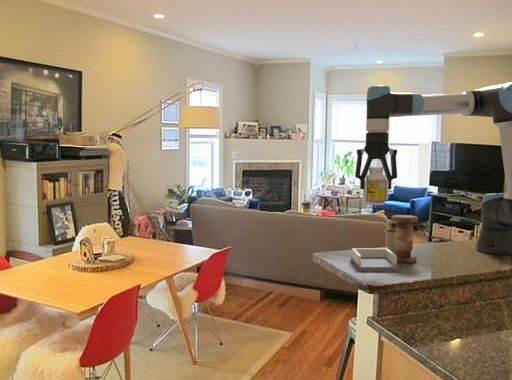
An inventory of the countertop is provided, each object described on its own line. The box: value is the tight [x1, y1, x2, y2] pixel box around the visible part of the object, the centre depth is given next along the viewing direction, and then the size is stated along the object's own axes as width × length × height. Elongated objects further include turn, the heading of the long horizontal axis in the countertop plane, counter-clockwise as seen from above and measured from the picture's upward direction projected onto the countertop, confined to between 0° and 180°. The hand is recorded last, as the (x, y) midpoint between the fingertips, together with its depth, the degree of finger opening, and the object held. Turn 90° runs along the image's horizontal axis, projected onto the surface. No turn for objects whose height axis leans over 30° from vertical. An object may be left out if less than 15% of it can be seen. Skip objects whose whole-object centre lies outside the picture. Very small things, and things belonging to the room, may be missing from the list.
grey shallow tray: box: [350, 247, 401, 273], centre depth 167 cm, size 13×16×4 cm
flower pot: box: [384, 228, 397, 254], centre depth 188 cm, size 9×9×9 cm
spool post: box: [391, 214, 419, 264], centre depth 175 cm, size 9×9×16 cm
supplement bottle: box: [364, 166, 387, 206], centre depth 167 cm, size 7×7×13 cm
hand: (375, 198), depth 167 cm, fingers closed on supplement bottle, 7 cm apart
